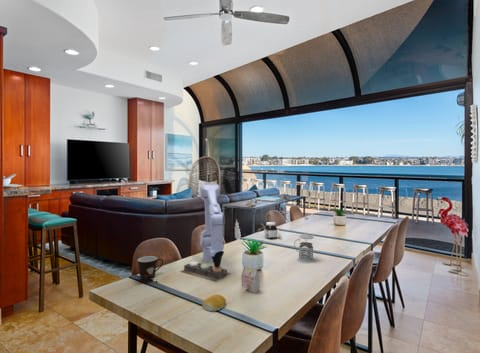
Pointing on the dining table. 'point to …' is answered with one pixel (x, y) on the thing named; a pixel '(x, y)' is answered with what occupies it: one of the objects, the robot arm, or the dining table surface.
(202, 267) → the sage button
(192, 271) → the button panel
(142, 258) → the coffee mug
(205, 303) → the bread roll
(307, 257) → the french press
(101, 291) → the dining table surface
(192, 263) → the cream button
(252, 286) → the tea bag
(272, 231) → the spread jar
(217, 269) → the terracotta button
